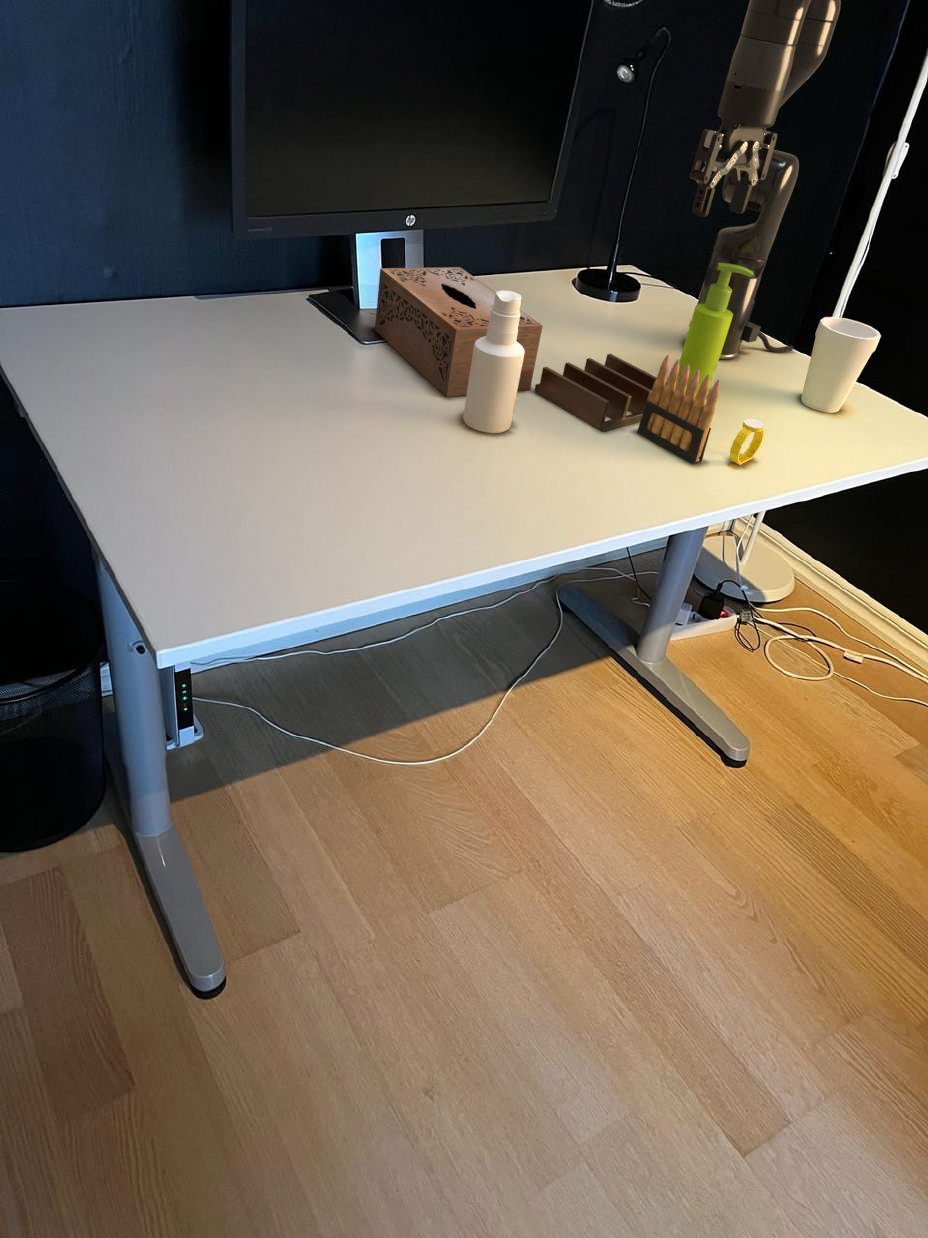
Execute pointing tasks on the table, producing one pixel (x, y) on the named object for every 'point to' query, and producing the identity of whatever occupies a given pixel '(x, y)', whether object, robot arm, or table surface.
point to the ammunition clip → (679, 413)
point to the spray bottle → (496, 368)
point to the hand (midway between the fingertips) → (717, 213)
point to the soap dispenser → (709, 328)
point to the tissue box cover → (444, 323)
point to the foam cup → (837, 361)
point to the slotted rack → (599, 391)
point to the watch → (747, 429)
